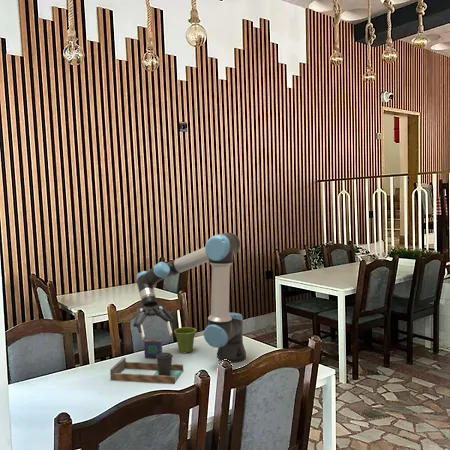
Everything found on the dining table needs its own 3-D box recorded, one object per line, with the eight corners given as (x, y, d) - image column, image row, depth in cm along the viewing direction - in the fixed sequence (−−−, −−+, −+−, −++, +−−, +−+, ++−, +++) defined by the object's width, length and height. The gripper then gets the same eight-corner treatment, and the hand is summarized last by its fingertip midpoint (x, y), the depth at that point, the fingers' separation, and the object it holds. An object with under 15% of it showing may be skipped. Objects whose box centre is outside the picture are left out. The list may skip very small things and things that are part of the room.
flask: (162, 356, 258) (162, 336, 257) (161, 358, 255) (161, 338, 254) (145, 356, 258) (144, 336, 257) (144, 358, 255) (143, 338, 255)
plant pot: (172, 348, 270) (172, 328, 269) (193, 346, 273) (193, 326, 273) (177, 355, 259) (176, 334, 258) (199, 353, 262) (198, 332, 261)
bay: (183, 370, 238) (183, 360, 237) (174, 383, 222) (173, 372, 221) (123, 367, 243) (123, 357, 242) (110, 380, 227) (110, 369, 227)
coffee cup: (170, 378, 226) (169, 357, 225) (153, 377, 228) (152, 356, 227) (175, 372, 234) (175, 351, 233) (159, 371, 236) (158, 350, 235)
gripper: (170, 300, 259) (180, 336, 247) (123, 305, 250) (130, 343, 237) (173, 292, 254) (183, 328, 242) (124, 297, 244) (132, 335, 232)
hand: (157, 336), depth 239 cm, fingers open, 13 cm apart
